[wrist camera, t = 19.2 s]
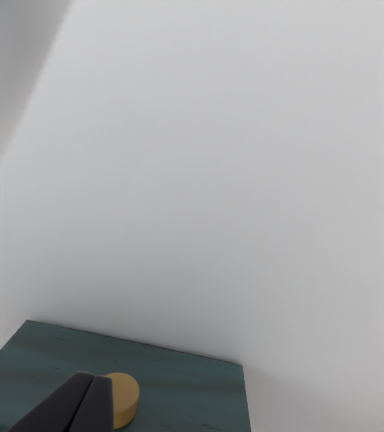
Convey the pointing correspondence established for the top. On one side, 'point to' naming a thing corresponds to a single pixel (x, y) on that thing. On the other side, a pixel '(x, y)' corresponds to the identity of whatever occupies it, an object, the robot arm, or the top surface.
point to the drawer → (123, 381)
